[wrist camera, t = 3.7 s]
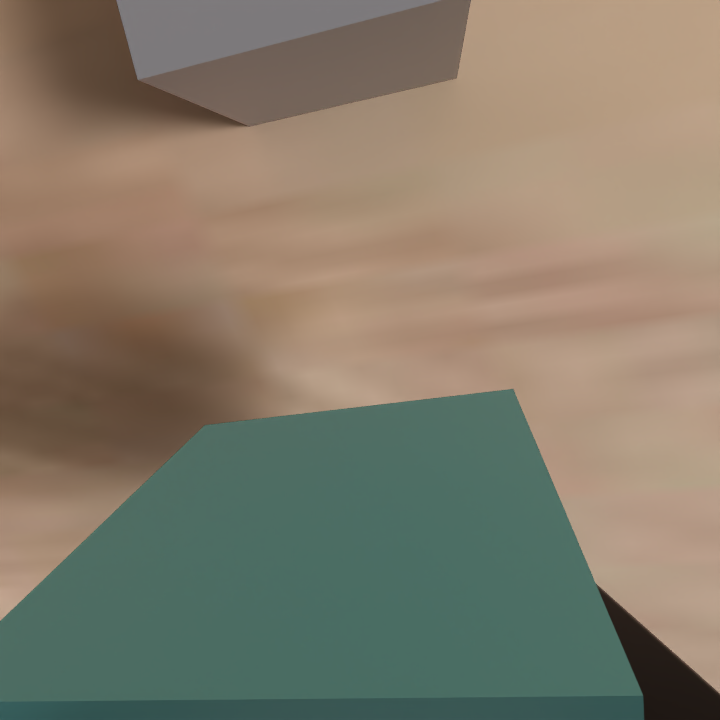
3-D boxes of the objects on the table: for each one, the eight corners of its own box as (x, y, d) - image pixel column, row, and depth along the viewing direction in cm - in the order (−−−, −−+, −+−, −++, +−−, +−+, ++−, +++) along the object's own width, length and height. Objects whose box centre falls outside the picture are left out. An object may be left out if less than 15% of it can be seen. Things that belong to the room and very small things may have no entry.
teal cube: (513, 388, 8) (642, 695, 3) (540, 656, 9) (662, 1170, 4) (204, 424, 8) (-83, 701, 4) (271, 662, 10) (118, 1089, 5)
